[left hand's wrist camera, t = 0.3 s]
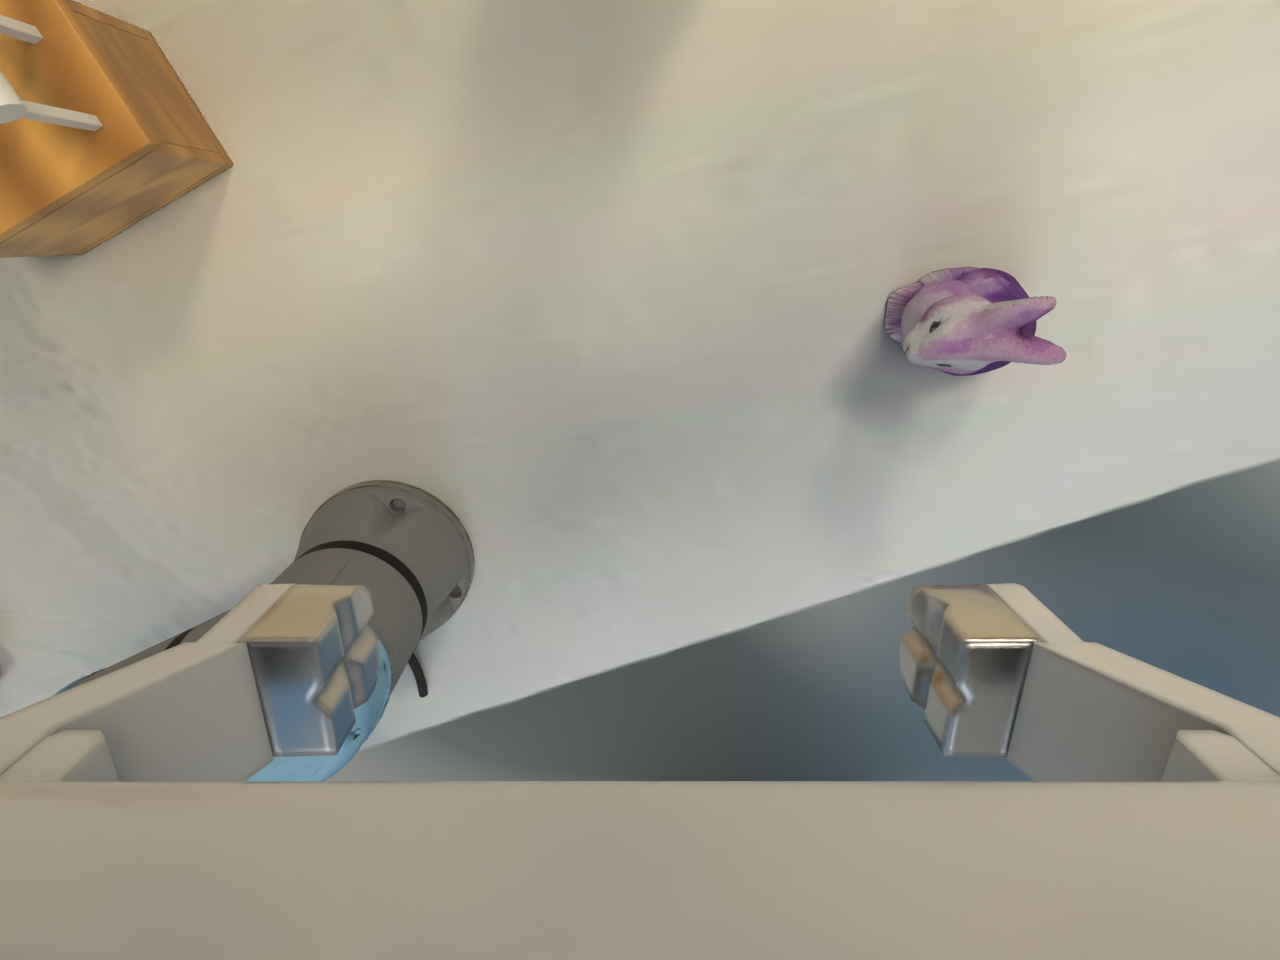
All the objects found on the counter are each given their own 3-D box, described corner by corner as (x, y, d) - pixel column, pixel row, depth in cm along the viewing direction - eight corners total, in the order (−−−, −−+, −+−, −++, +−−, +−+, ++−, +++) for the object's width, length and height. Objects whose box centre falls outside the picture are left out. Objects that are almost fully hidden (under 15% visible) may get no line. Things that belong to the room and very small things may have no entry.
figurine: (852, 322, 55) (924, 353, 41) (956, 230, 53) (1071, 230, 39) (919, 403, 58) (1010, 459, 44) (1022, 319, 55) (1153, 349, 41)
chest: (149, 31, 48) (43, -12, 40) (234, 165, 51) (152, 151, 43) (-7, 131, 51) (-140, 111, 42) (83, 254, 54) (-24, 259, 45)
